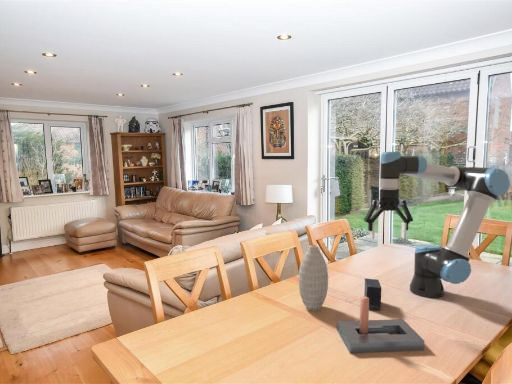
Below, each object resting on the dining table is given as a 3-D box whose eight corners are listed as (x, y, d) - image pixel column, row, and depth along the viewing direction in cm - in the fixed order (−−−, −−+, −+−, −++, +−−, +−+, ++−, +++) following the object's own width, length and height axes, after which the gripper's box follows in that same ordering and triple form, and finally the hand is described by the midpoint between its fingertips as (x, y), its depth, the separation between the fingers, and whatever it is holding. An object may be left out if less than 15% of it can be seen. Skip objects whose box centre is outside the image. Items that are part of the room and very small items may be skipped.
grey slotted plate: (402, 327, 138) (402, 319, 138) (423, 350, 122) (424, 340, 122) (336, 329, 137) (336, 321, 136) (349, 353, 121) (349, 343, 120)
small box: (381, 310, 153) (382, 287, 152) (365, 309, 154) (366, 286, 153) (378, 300, 163) (378, 278, 162) (363, 299, 164) (364, 278, 163)
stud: (367, 336, 132) (369, 295, 130) (372, 343, 127) (374, 300, 125) (354, 336, 131) (355, 295, 130) (358, 344, 126) (360, 301, 125)
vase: (330, 304, 159) (331, 243, 156) (323, 316, 148) (324, 250, 145) (303, 300, 165) (303, 240, 162) (294, 311, 153) (294, 247, 150)
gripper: (414, 187, 152) (412, 235, 155) (357, 188, 151) (356, 236, 153) (423, 189, 145) (421, 239, 147) (363, 189, 144) (362, 241, 146)
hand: (387, 238), depth 150 cm, fingers open, 13 cm apart
